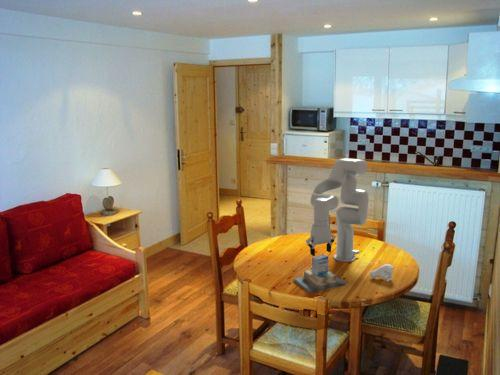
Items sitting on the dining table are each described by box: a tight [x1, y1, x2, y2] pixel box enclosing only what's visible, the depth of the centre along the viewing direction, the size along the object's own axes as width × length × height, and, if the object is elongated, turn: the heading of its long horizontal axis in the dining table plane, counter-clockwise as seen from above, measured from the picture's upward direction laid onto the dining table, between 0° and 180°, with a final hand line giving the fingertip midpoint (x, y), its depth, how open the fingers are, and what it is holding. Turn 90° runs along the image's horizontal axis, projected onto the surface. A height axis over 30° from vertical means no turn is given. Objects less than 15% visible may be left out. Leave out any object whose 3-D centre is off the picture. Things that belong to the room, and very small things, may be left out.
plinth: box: [293, 269, 347, 294], centre depth 240 cm, size 22×16×6 cm
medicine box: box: [311, 254, 329, 275], centre depth 239 cm, size 8×4×9 cm, turn 125°
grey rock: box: [369, 263, 394, 283], centre depth 244 cm, size 6×8×12 cm
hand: (320, 253), depth 238 cm, fingers open, 9 cm apart
